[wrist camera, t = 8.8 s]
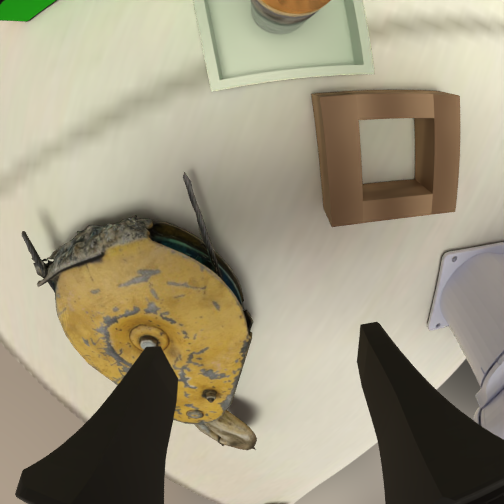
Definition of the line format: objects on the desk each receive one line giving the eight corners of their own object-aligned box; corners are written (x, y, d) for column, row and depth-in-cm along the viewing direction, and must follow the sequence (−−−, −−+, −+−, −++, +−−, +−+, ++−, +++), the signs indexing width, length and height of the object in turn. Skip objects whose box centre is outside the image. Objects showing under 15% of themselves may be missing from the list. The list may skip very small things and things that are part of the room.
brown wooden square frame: (437, 91, 15) (459, 95, 13) (436, 195, 18) (455, 211, 16) (311, 93, 16) (319, 96, 13) (323, 208, 19) (331, 226, 17)
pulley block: (174, 472, 29) (-10, 259, 14) (174, 433, 34) (28, 220, 19) (294, 452, 29) (203, 180, 14) (284, 411, 34) (204, 154, 19)
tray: (336, -50, 11) (346, -63, 9) (361, 73, 15) (374, 74, 13) (192, -35, 11) (183, -47, 10) (216, 89, 16) (211, 91, 14)
